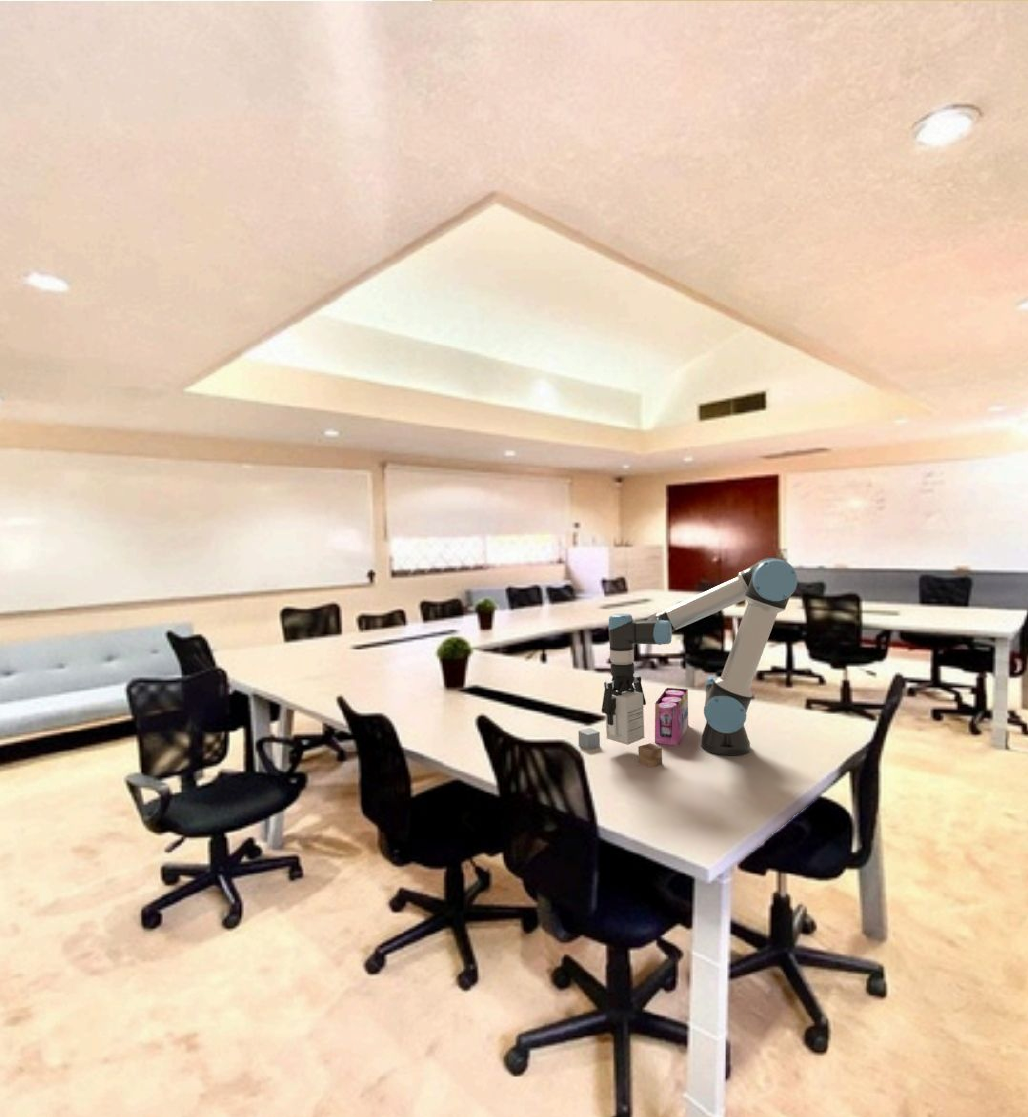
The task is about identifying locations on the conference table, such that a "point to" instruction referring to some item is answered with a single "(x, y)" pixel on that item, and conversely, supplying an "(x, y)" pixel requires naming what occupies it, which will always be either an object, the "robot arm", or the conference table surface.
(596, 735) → the slate block
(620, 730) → the supplement box
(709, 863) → the conference table surface
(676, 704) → the gum box
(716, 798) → the conference table surface
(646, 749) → the walnut block
